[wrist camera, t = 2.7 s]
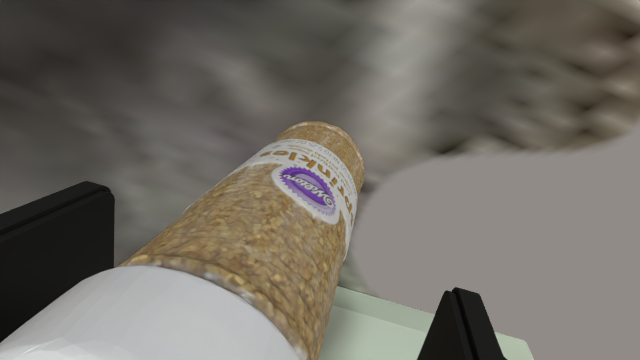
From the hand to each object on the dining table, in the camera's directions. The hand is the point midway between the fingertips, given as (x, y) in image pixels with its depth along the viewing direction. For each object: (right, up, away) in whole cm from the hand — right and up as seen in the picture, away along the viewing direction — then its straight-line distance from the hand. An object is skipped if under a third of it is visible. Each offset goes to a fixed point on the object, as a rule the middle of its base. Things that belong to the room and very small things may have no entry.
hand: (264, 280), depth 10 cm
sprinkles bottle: (+1, +3, +7) cm, 8 cm away
